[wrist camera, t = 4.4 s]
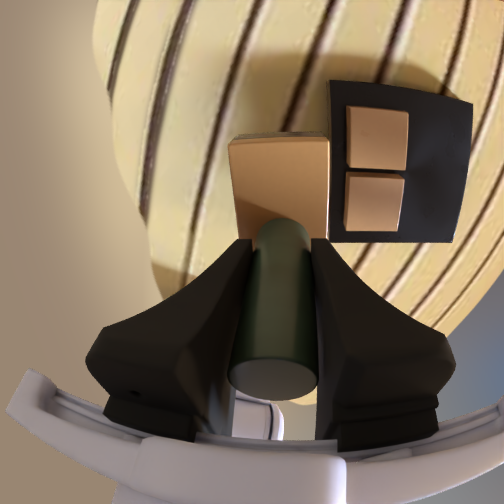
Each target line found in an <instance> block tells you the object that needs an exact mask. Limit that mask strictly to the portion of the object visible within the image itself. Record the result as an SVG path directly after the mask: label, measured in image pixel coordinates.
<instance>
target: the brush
mask: <svg viewBox="0 0 504 504" xmlns="http://www.w3.org/2000/svg"><path fill="white" fill-rule="evenodd" d="M227 147H228V155H229V163H230V171H231V179H232V187H233V195H234V203H235V211H236V219H237V227H238V234H239V239H252V246H253V256H252V260H251V265H250V269H249V274H248V278H247V283H246V288H245V292H244V297H243V301H242V306H241V311H240V315H239V320H238V324H237V329H236V334H235V338H234V343H233V347H232V352H231V357H230V361H229V366H228V370H227V377H228V380H229V382H230V384H231V385H232V386H233V387H234V388H235V389H236V390H238V391H239V392H241V393H243V394H245V395H248V396H251V397H254V398H258V399H263V400H272V401H283V400H291V399H296V398H299V397H302V396H304V395H307V394H308V393H310V392H311V391H313V390H314V389H315V388H316V386H317V384H318V382H319V358H318V336H317V319H316V304H315V290H314V278H313V271H312V261H311V238H327V233H328V211H329V167H330V153H329V141H328V139H327V138H326V136H325V135H324V134H323V133H322V132H272V133H254V134H240V135H237V136H236V137H235V138H234V139H233V140H232V141H231V142H230V143H229V144H228V146H227Z"/></svg>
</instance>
